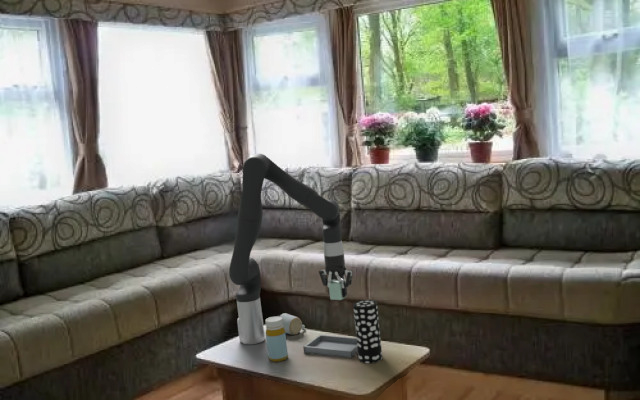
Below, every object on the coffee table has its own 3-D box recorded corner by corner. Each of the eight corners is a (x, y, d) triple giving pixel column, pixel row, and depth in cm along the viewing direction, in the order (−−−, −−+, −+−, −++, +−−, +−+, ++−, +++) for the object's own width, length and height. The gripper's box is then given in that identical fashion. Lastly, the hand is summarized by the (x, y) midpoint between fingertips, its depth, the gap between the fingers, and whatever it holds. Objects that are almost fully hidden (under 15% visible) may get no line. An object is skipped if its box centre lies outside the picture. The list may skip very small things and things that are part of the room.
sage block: (330, 299, 247) (328, 284, 246) (335, 295, 251) (334, 280, 250) (341, 300, 245) (339, 284, 244) (346, 296, 249) (345, 281, 248)
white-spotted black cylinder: (355, 362, 226) (350, 307, 223) (362, 353, 234) (356, 299, 231) (379, 363, 223) (373, 307, 220) (384, 354, 231) (379, 299, 228)
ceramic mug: (291, 337, 258) (289, 319, 257) (277, 334, 263) (275, 316, 262) (309, 329, 265) (308, 311, 264) (295, 326, 271) (294, 308, 270)
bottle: (278, 363, 232) (273, 323, 230) (265, 360, 237) (260, 320, 235) (292, 356, 238) (287, 317, 235) (278, 353, 242) (273, 314, 240)
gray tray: (304, 353, 240) (303, 346, 240) (320, 340, 251) (319, 334, 250) (351, 358, 230) (350, 351, 230) (366, 345, 241) (365, 338, 241)
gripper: (312, 255, 246) (317, 298, 248) (346, 255, 239) (350, 300, 241) (322, 250, 252) (326, 292, 255) (355, 251, 245) (359, 294, 247)
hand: (338, 296), depth 248 cm, fingers closed on sage block, 4 cm apart
